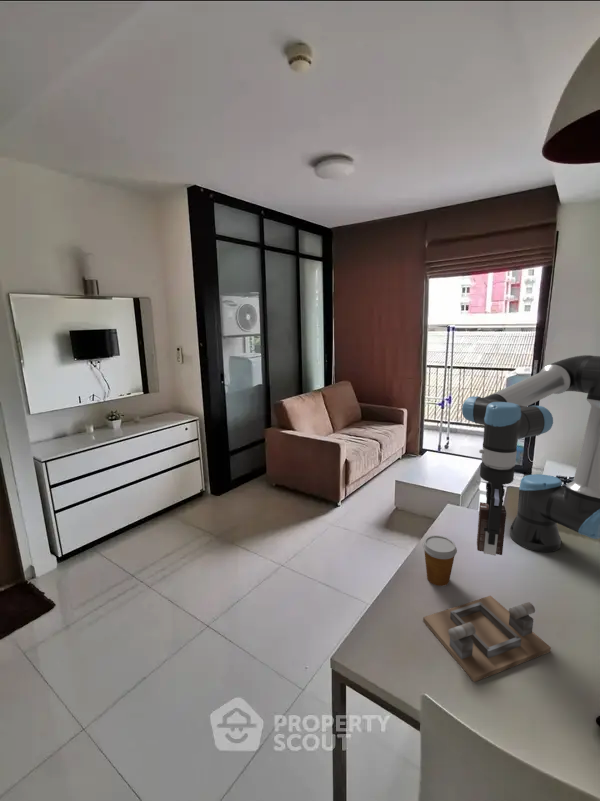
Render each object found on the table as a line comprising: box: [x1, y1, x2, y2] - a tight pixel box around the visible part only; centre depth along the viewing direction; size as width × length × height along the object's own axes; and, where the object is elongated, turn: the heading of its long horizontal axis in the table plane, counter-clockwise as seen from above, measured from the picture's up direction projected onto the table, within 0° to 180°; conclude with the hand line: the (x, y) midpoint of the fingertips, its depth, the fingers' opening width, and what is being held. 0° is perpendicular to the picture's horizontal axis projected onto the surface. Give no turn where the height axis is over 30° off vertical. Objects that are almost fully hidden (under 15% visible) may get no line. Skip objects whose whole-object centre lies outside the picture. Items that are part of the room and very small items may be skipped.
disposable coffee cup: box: [422, 535, 458, 587], centre depth 112 cm, size 10×10×12 cm
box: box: [476, 502, 507, 556], centre depth 98 cm, size 6×4×12 cm
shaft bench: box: [422, 595, 552, 683], centre depth 93 cm, size 24×18×8 cm
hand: (489, 548), depth 99 cm, fingers closed on box, 4 cm apart
